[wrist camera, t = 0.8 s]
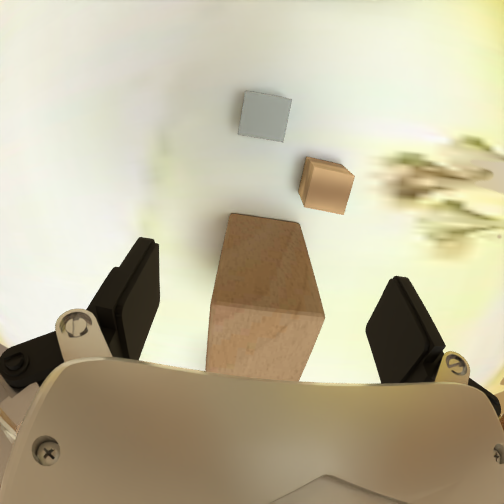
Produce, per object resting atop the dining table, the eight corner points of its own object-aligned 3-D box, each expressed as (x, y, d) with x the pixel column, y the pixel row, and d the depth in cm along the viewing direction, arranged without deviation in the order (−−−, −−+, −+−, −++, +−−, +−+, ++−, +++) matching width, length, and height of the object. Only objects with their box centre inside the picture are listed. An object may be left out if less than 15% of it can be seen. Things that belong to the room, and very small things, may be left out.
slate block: (247, 91, 34) (245, 90, 29) (286, 98, 34) (292, 99, 29) (240, 128, 36) (237, 134, 31) (279, 135, 37) (283, 142, 31)
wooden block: (222, 271, 47) (204, 375, 29) (230, 211, 42) (210, 303, 25) (286, 280, 47) (298, 385, 30) (300, 222, 42) (327, 317, 25)
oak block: (306, 156, 38) (314, 166, 33) (341, 164, 38) (354, 176, 33) (298, 191, 40) (304, 207, 35) (332, 198, 41) (343, 214, 35)
